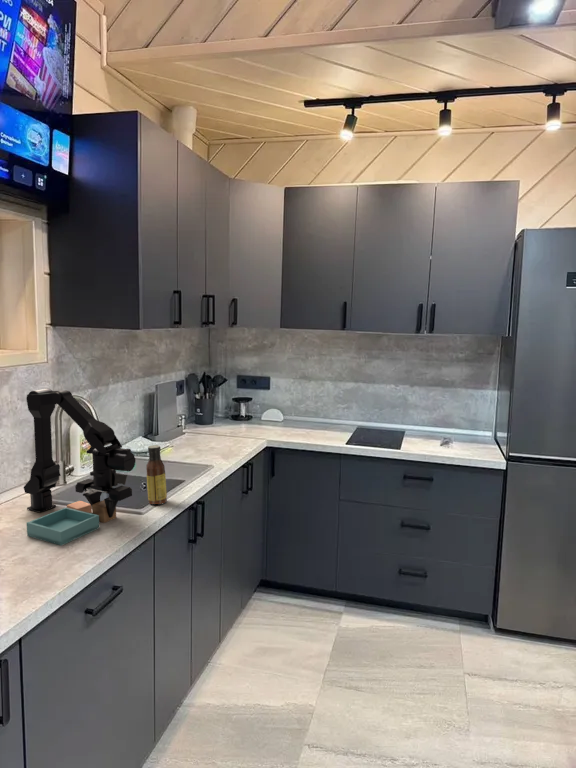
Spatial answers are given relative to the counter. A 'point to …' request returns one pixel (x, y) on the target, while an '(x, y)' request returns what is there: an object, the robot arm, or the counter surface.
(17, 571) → the counter surface
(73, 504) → the terracotta carton
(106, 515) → the walnut block
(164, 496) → the sauce bottle
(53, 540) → the tote
